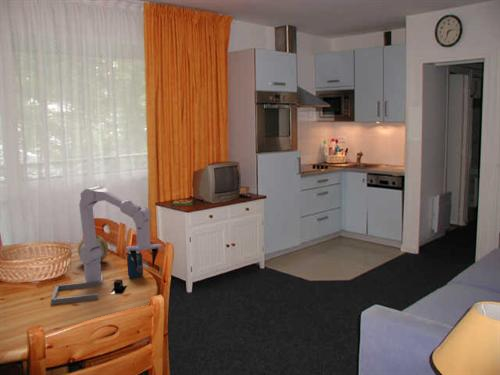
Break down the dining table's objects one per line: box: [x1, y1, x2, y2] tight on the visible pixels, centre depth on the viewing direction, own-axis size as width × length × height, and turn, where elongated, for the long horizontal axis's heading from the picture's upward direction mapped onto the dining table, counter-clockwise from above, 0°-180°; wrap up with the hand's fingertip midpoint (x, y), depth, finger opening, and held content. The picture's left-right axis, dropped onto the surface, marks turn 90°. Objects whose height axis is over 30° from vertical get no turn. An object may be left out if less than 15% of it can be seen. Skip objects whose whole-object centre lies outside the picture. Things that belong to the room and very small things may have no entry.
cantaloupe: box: [77, 234, 109, 263], centre depth 249 cm, size 15×15×15 cm
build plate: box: [109, 279, 128, 295], centre depth 212 cm, size 12×7×5 cm, turn 2°
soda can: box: [126, 251, 144, 280], centre depth 228 cm, size 7×7×12 cm
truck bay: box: [50, 281, 101, 305], centre depth 208 cm, size 17×18×2 cm
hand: (144, 266), depth 214 cm, fingers open, 6 cm apart
